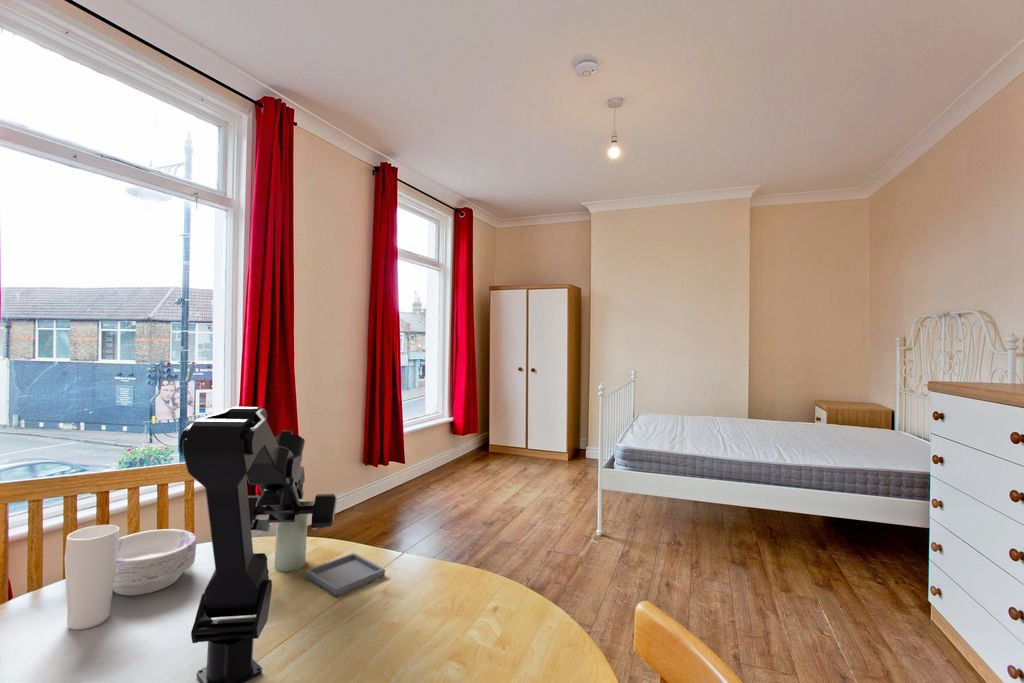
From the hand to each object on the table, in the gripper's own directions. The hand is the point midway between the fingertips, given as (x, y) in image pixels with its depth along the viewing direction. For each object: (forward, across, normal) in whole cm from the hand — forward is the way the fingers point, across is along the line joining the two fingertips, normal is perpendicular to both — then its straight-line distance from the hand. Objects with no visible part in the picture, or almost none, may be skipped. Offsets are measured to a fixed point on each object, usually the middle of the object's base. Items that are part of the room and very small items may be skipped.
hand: (291, 528), depth 101 cm
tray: (+1, -12, +10) cm, 16 cm away
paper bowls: (+2, +25, +9) cm, 26 cm away
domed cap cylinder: (+6, 0, +6) cm, 8 cm away
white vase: (-7, +27, +18) cm, 33 cm away
